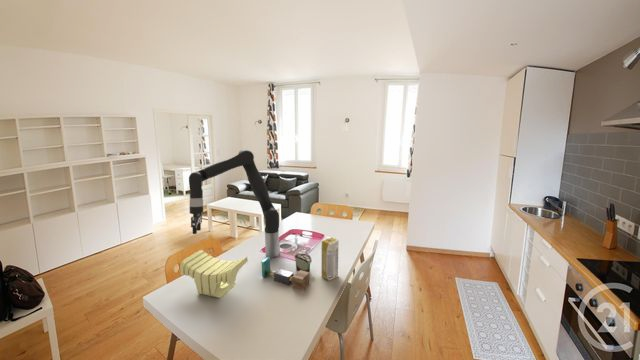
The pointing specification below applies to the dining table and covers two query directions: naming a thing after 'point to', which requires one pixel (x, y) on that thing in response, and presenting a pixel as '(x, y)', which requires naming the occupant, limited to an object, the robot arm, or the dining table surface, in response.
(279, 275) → the sleeve
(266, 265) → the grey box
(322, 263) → the juice carton
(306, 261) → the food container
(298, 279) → the brown block
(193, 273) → the slatted curved stool
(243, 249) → the dining table surface
